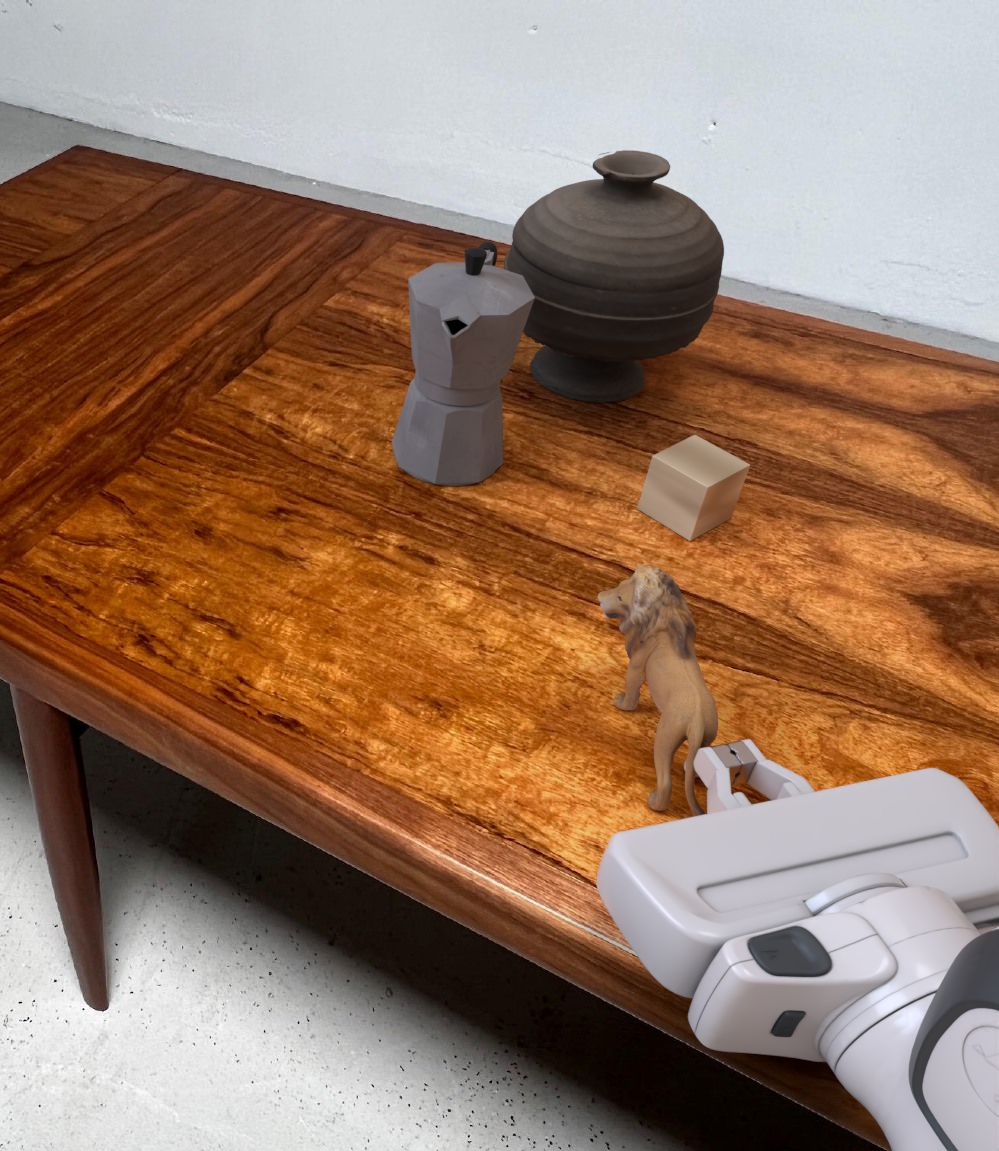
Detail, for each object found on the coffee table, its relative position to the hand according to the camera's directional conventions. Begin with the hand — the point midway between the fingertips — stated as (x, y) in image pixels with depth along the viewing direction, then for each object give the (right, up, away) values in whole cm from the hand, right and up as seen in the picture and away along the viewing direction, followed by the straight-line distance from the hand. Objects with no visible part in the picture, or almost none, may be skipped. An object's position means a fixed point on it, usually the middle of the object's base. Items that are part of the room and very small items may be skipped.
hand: (719, 750), depth 62 cm
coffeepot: (-9, +20, +32) cm, 39 cm away
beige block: (+8, +15, +25) cm, 30 cm away
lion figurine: (-1, 0, +8) cm, 8 cm away
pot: (+6, +28, +41) cm, 50 cm away
